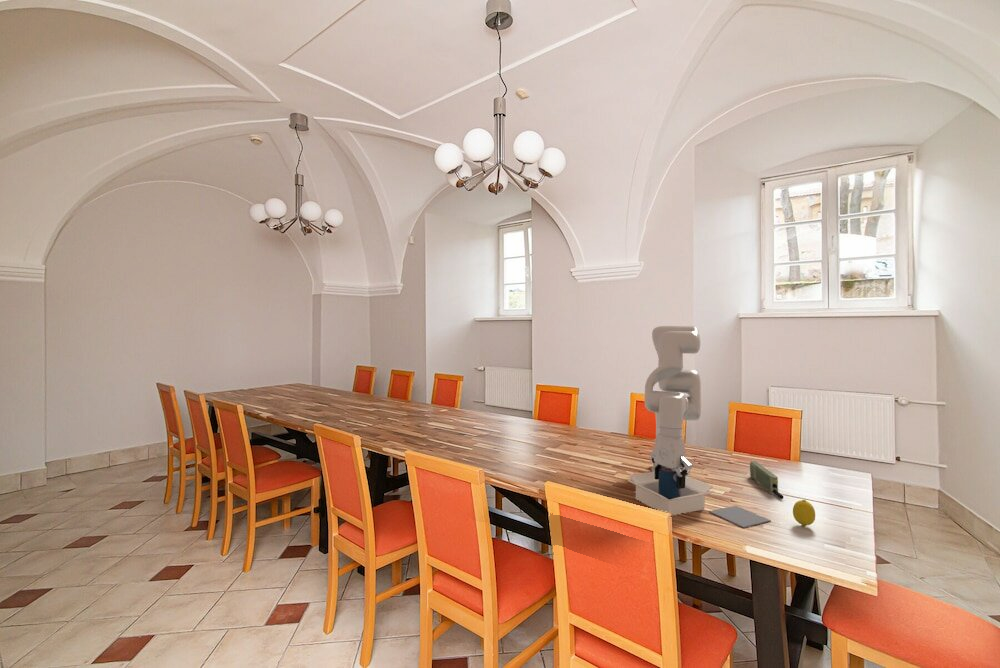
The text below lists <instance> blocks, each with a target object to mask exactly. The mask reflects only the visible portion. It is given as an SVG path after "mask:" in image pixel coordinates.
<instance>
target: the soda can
mask: <svg viewBox="0 0 1000 668" xmlns="http://www.w3.org/2000/svg"><path fill="white" fill-rule="evenodd" d="M677 476H678V474H677V472H676V470H675V469H670V468H667V467H664V466H662V467H661V469H660V471H659V485H658V494H660V495H662V496H664V497H665V498H667V499H669V500H670V499H674V498H677V497H681V489H678V488H677Z"/></svg>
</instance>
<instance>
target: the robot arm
mask: <svg viewBox="0 0 1000 668" xmlns="http://www.w3.org/2000/svg"><path fill="white" fill-rule="evenodd" d="M651 334H652V335H651V337H652V339H651V340H652V342H653V343H652V344H653V346H654V349H655V351H656V355H657V358H658V362H657V363H658V365H657V367H656V368H655V369H654V370H653V371H652V372H651V373H649V375H648V377H647V379H646V381H645V385H644V407H645V409H646V410H647V411H649V412H651V413H654V415H655V440H654V447H653V450H652V451H650V452H649V455H650V461H649V462H650V463H652V464H653V466H652V467H651V472H653V471H655V479H656V480H658V479H659V471H660V469H661V467H662V466H664V467H667V468H670V469H675V470H676V472H677V474H678V476H677V488H678V489H682V488H685V476H688V475H689V474H690V473H691V470H692V467H693V466H692V463H690V462H689V461H688V459H686V447H685V439H684V437H683V433H684V432H683V427H684V426H683V424H684V422H683V421H690V422H691V421H698V420H699V419H700V417H701V413H702V401H701V400H702V395H701V394H702V393H701V391H702V389H701V388H702V387H701V385H702V384H701V383H702V382H701V377H700V373H699V372H698V371H696V370H693V369H685V368H684V356H683V354H690V355H692V354H698V353H699V351H700V349H701V337H700V333H699V330H698V328H697V327H696V326H693V325H692V326H691V325H661V326H656V327H654V328H653V329H652V331H651ZM657 383H658V388H659V389H660V390H661V391H660V390H654V386H655V384H657ZM685 394H687V395H688V396H686V395H685Z"/></svg>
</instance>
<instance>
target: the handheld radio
mask: <svg viewBox="0 0 1000 668" xmlns="http://www.w3.org/2000/svg"><path fill="white" fill-rule="evenodd" d="M749 475H750V476H749V477H750V478H752V479H753V478H754V479H755V480H756V481H755V482H756V483H758V482H759V483H760V484H761V485H762V486H761V485H760V484H759V483H758V484H759V485H760V486H761V487H763V488H764V489H765V490H766V489H767V490H768V491H769V492H768V491H767V490H766V491H767V492H768V493H770V494H772V495H775V496H777V497H778V498H779V499H781V500H783V499H784V495H783V494H782V493H780V492H779V484H778V483H779V481H778V480H779V479H778V478H779V477H778V476H776V474H774V473H772V472H771V471H770V470H768V469H767V468H766V467H765V466H763V465H762V464H761V463H759V462H758V461H757V460H750V463H749ZM754 479H753V480H754Z"/></svg>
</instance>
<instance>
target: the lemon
mask: <svg viewBox="0 0 1000 668" xmlns="http://www.w3.org/2000/svg"><path fill="white" fill-rule="evenodd" d="M792 515H793V518H794V520H795V521H796V522H797V523H799V524H800V525H801V527H806V526H810V525H812V524H813V523H814V522H815V520H816V510H815V507H814V506H813V504H812V503H811V502H809V501H807V500H806V499H802V500H797V501H796V502H795V503H794V504H793V507H792Z"/></svg>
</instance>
